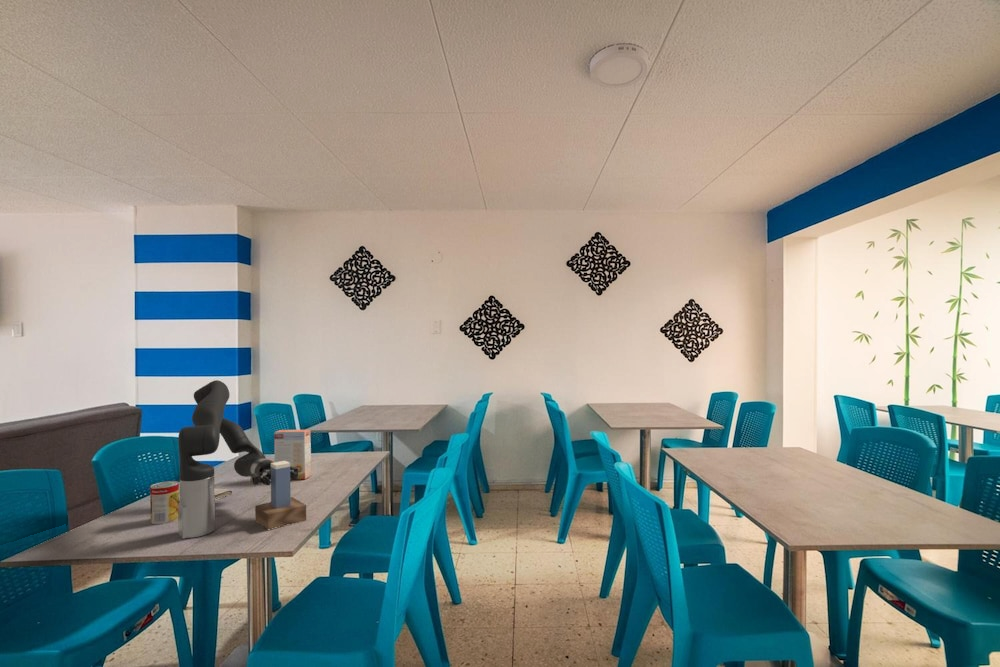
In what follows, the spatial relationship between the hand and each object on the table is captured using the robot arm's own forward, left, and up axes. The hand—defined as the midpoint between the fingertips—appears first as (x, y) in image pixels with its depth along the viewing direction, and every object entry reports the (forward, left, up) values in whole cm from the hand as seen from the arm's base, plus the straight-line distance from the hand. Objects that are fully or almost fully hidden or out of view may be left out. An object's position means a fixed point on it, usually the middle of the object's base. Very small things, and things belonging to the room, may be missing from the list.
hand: (282, 479), depth 158 cm
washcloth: (-13, +47, -15) cm, 51 cm away
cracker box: (+23, +51, -14) cm, 58 cm away
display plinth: (0, +2, -14) cm, 14 cm away
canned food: (-27, +32, -14) cm, 44 cm away
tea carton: (0, +2, -9) cm, 9 cm away
